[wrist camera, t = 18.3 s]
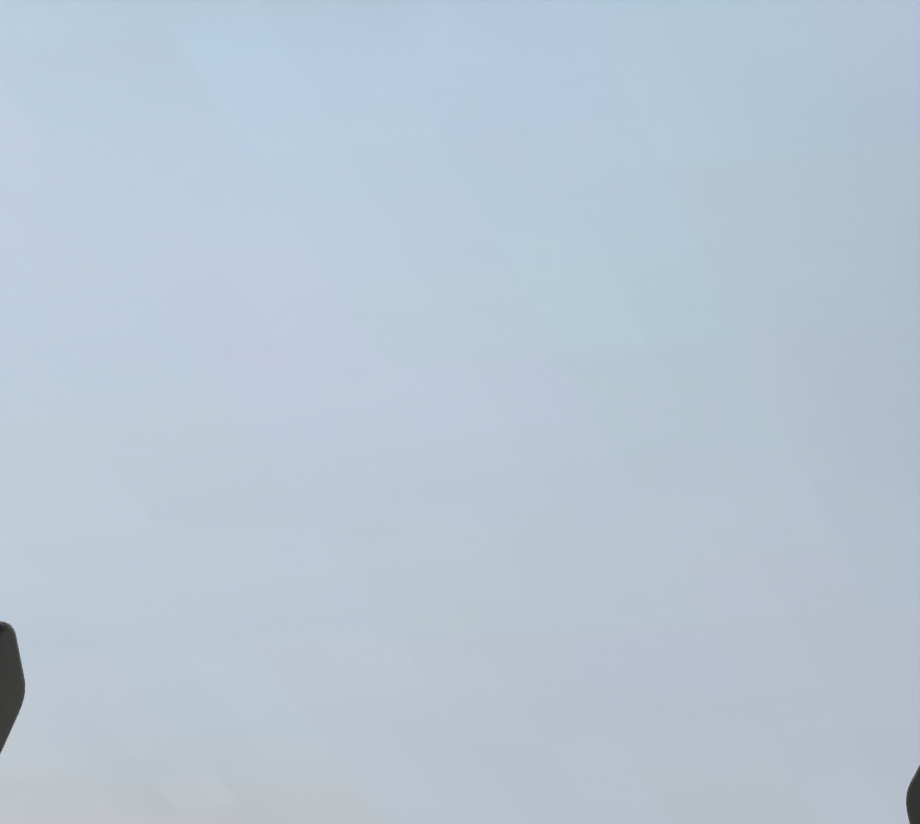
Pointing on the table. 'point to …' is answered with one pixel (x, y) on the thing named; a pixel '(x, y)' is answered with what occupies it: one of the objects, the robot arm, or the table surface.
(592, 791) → the table surface
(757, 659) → the table surface
